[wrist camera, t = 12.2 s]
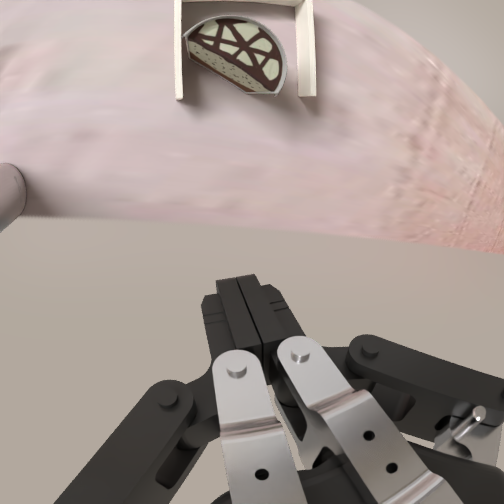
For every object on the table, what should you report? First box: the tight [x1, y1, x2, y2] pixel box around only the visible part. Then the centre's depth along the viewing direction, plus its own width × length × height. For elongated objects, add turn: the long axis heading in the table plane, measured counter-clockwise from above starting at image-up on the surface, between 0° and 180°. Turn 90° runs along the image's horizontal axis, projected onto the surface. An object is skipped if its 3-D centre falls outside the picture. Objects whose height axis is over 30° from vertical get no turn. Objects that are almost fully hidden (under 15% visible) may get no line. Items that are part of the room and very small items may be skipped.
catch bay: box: [174, 0, 316, 100], centre depth 27 cm, size 18×16×4 cm
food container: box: [181, 15, 287, 97], centre depth 25 cm, size 12×6×10 cm, turn 56°
